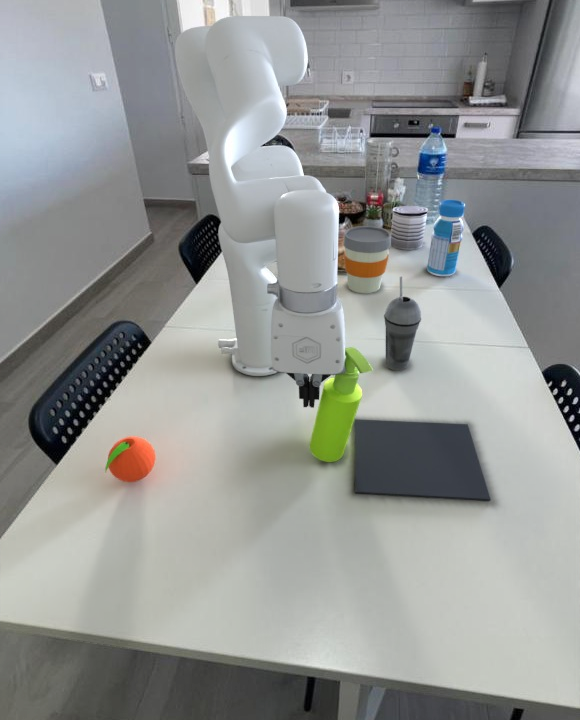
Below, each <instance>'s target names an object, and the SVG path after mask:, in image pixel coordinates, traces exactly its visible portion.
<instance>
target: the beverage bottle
mask: <svg viewBox="0 0 580 720" xmlns="http://www.w3.org/2000/svg"><path fill="white" fill-rule="evenodd" d="M465 209H466V203H465V202H464V201H462V200H458V199H445V200H441V201H440V202H439V206H438V218H437V219H436V220H435V222H434V223H433V227H432V229H433V231H432V233H431V236H430V239H431V240H430V248H429V254H428V261H427V267H426V269H427V272H428V273H429V274H431V275H433V276H437V277H451V276H452V275H454V274H455V273H456V270H457V264H458V258H459V254H460V249H461V245H462V244H461V243H462V241H463V234H462V233H463V231H464V227H465V226H464V223H463V222H464V221H463V220H462V218H463V217H464V214H465Z"/></svg>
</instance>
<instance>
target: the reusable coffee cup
mask: <svg viewBox="0 0 580 720" xmlns="http://www.w3.org/2000/svg"><path fill="white" fill-rule="evenodd" d="M342 245H343V247H344V252H343V262H344V271H345V272H346V277H347V287H348V289H349V290H351V291H352V292H355V293H359V294H372V293H376V292H377V291H379V290H380V288H381V285H382V280H383V276H384V274H385V273H386V269H387V265H388V261H389V256H390V254H389V249H390V248H391V247H392V246H391V231H389V230H387V229H385V228H382V227H378V226H373V225H360V226H354V227H350V228H348V229H346V230H345V231H344V234H343V242H342Z"/></svg>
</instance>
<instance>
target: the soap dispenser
mask: <svg viewBox="0 0 580 720" xmlns="http://www.w3.org/2000/svg"><path fill="white" fill-rule="evenodd" d="M345 365H346V372H345V373H343V374H337V375H334V377H329V378H327V379H326V380H325V382H324V384H323V388H322V391H321V396H320V399H319V404H318V409H317V413H316V416H315V421H314V425H313V429H312V433H311V438H310V441H309V451H310V452H311V455H312V456H313V457H315V458H316V459H318V460H320V461H322V462H326V463H334V462H337V461H339V460H340V459H341V458H343V456H344V454H345V451H346V448H347V444H348V441H349V437H350V434H351V432H352V428H353V425H354V423H355V419H356V416H357V412H358V410H359V409H358V408H359V406H360V403H361V400H362V397H363V390H362V388H361V387H360V385H359V384H358V380H359V377H360V374H365V373H370V372H373V371H374V369H373V367H372V366H371V364H370V363H369V361H368V360H367V358H366V357H365V356H364V355H363V354H362V353H361V352H360V351H359V350H358V349H357V348H356V347H354V346H350V347H345Z"/></svg>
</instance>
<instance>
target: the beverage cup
mask: <svg viewBox="0 0 580 720" xmlns="http://www.w3.org/2000/svg"><path fill="white" fill-rule="evenodd" d="M403 286H404V285H403V276H399V296H397V297H396V298H394V299H392V300H391V301H390V302H389V303H388V304H387V307H386V309H385V311H384V315H383V318H384V327H385V366H386V367H387V368H388V369H390V370H393V371H403V370H405V369H407V368H408V364H409V361H410V358H411V354H412V350H413V346H414V342H415V338H416V334H417V330H418V329H419V326H420V324H421V322H422V312H421V308H420V306H419V304H418V302H417V301H416V300H414V299H413V298H411V297H409V296H404V295H403V293H404V291H403V288H404V287H403Z"/></svg>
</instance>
